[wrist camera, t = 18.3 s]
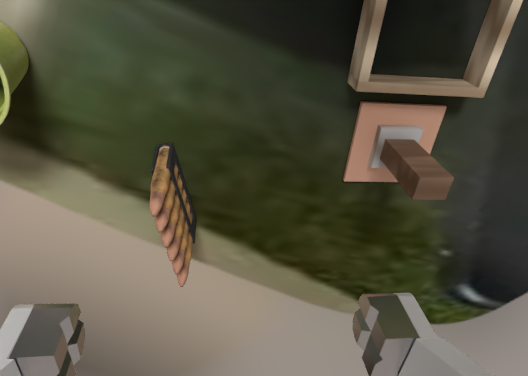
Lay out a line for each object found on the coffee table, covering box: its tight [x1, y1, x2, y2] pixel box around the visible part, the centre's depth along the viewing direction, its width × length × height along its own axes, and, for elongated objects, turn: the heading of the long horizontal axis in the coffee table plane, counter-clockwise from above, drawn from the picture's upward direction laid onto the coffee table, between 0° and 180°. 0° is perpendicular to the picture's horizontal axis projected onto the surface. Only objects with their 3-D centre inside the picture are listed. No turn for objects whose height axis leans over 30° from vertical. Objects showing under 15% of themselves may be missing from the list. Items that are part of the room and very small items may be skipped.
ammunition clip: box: [150, 143, 196, 287], centre depth 40 cm, size 11×2×12 cm, turn 9°
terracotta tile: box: [343, 101, 447, 182], centre depth 45 cm, size 10×10×1 cm
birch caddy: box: [347, 0, 523, 98], centre depth 36 cm, size 14×14×3 cm
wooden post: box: [368, 125, 454, 200], centre depth 41 cm, size 5×5×10 cm
